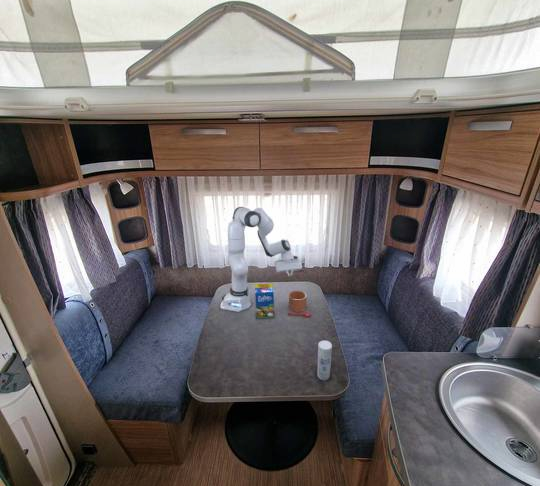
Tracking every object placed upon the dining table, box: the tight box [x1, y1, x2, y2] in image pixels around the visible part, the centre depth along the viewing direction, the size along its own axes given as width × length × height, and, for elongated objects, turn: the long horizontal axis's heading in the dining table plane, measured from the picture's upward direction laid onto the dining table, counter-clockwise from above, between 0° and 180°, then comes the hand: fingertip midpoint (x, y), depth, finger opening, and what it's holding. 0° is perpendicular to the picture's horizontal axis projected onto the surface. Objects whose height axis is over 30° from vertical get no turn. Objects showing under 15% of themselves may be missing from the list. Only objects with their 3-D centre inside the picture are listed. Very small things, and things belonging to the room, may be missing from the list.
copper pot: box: [288, 290, 307, 313], centre depth 202 cm, size 12×12×10 cm
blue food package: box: [254, 283, 275, 319], centre depth 190 cm, size 6×12×25 cm, turn 92°
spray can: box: [316, 339, 333, 381], centre depth 141 cm, size 6×6×20 cm
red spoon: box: [287, 312, 311, 318], centre depth 194 cm, size 15×4×1 cm, turn 81°
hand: (290, 276), depth 213 cm, fingers closed
